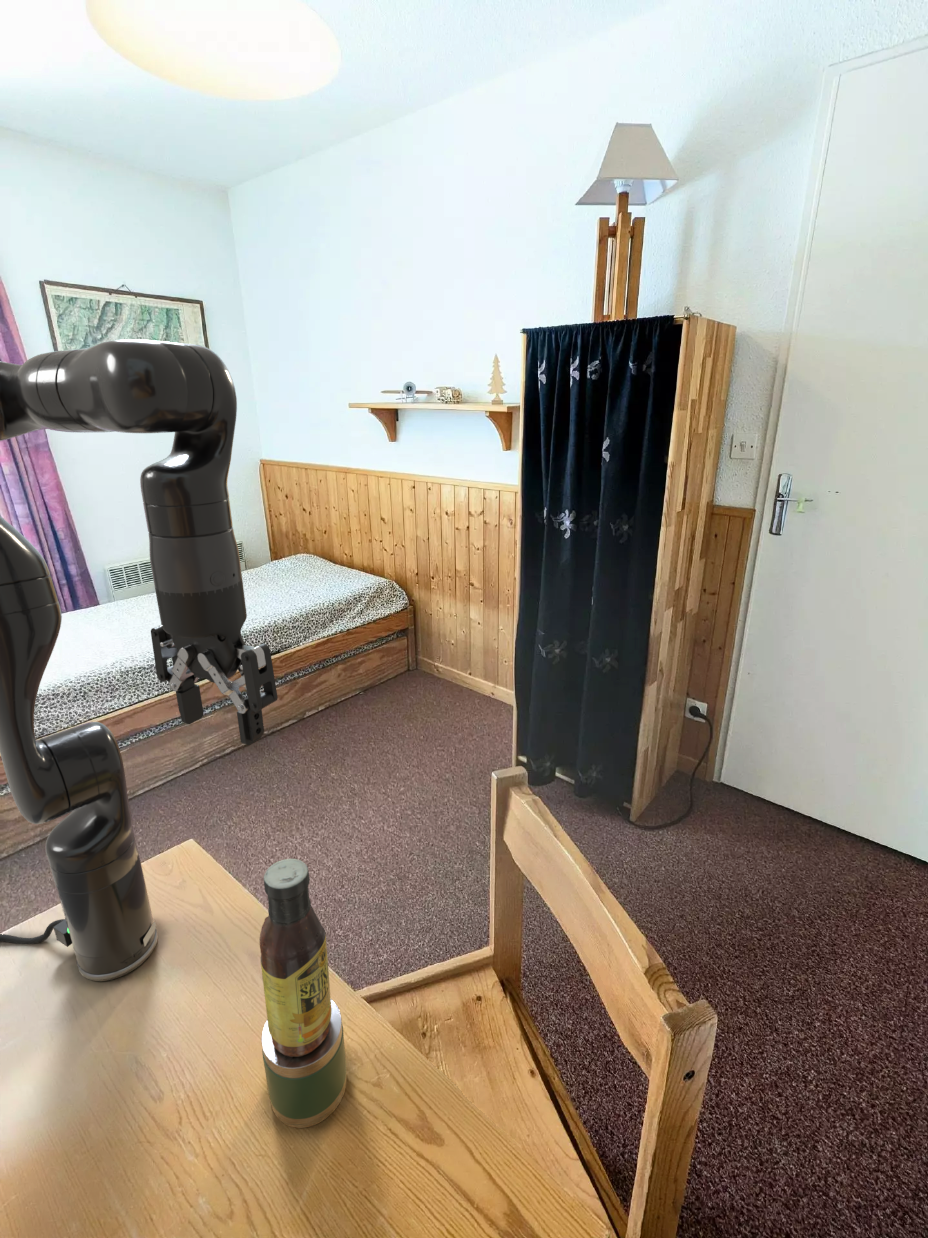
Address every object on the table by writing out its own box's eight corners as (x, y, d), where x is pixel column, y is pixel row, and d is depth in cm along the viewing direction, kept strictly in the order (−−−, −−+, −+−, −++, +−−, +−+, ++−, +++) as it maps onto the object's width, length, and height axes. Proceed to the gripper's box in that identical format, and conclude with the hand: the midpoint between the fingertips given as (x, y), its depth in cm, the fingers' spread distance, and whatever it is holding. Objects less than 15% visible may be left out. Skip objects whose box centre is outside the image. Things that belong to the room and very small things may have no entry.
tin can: (253, 1103, 64) (242, 1044, 61) (306, 1035, 71) (299, 979, 68) (312, 1145, 60) (305, 1085, 57) (362, 1070, 67) (358, 1012, 64)
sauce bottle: (317, 1067, 59) (299, 909, 52) (258, 1054, 60) (233, 898, 53) (343, 1005, 65) (330, 856, 58) (289, 994, 66) (270, 846, 59)
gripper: (285, 578, 56) (300, 731, 62) (181, 559, 62) (203, 699, 68) (220, 601, 50) (243, 768, 56) (112, 576, 56) (142, 729, 62)
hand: (221, 730), depth 62 cm, fingers open, 8 cm apart
